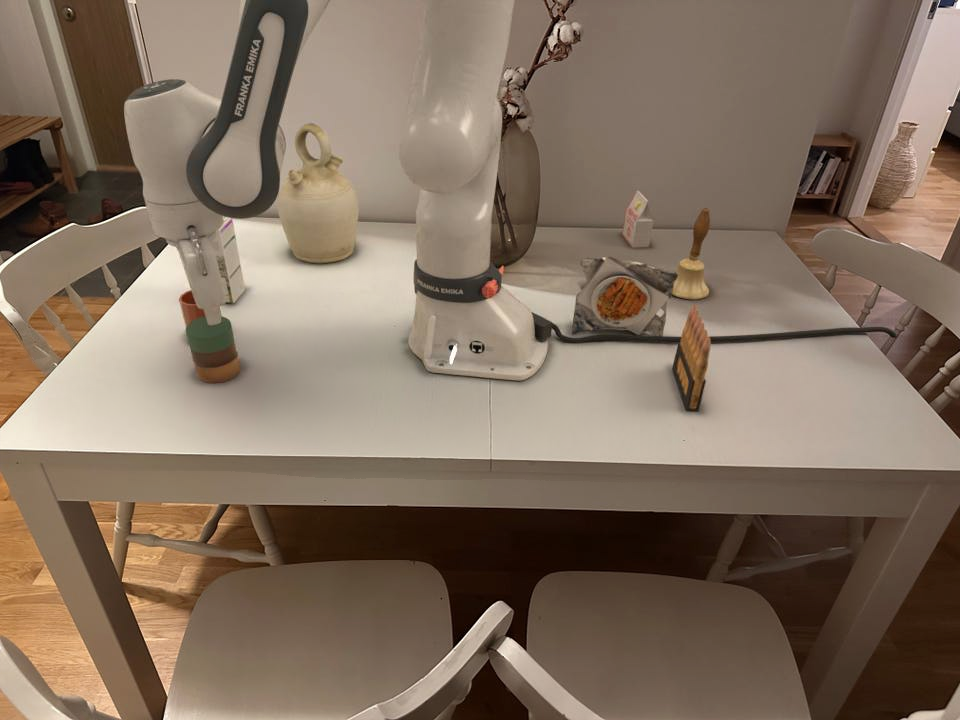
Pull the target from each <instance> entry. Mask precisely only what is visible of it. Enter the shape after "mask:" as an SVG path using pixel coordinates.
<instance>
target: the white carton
mask: <svg viewBox="0 0 960 720" xmlns="http://www.w3.org/2000/svg"><path fill="white" fill-rule="evenodd" d="M653 227H654V217H653V214H652V211H651V207H650V202H649V200H648V199H647V198H646V197H645V196H644V195H643V194H642V193H641V192H640V191H639V190H635V192H634V195H633V196H632V198H631V200H630V202H629V203H628V205H627V207H626V208H625V214H624V221H623V225H622V233H621V235H622V236H623V238H624V239H625V241H626V242H627V243H628V244H629V246H630V247H631V248H633V249H634V248H638V249H639V248H650V243H651V237H652V233H653V232H652V231H653Z"/></svg>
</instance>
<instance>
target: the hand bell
mask: <svg viewBox="0 0 960 720" xmlns="http://www.w3.org/2000/svg"><path fill="white" fill-rule="evenodd" d="M710 227H711V214H710V208H708V207H703V208H702V209H701V211H700V213H699V214H698V216H697V217H696V219H695V222H694V225H693V229H692V230H693V231H692V234H693V235H692V237H693V240H692V241H693V242H692V246H691V249H690V253H689V255H688V258H683V259H681V260H680V261H679V264H678V267H677V269H676V271H675V272H676V273H677V274H678V277H677V279H676V280H675V281H674V288H673V293H672V296H674V297H678V298H680V299H684V300H692V301H693V300H701V299H705V298H707V297H708V296H709V294H710V289H709V286H708V285H707V284H706V282H705V277H704V276H705V264H704V262H702V261H700V260H699V258H700V255H701V250H702V245H703V242H704V240H705V238H706V237H707V235H708V232H709V230H710Z"/></svg>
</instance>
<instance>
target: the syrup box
mask: <svg viewBox="0 0 960 720" xmlns="http://www.w3.org/2000/svg"><path fill="white" fill-rule="evenodd" d="M223 219H224V223H223V225H222V227H221V228H219V229H218V230H216V233H217V236H216V237H215V239H213V240H212V241H211V242H210V243H211V245H212V248H213V250H214V252H215V255H216V259H217V262H218V267H219V271H220V275H221V279H222V283H223V287H224V291H225V296H226V302H225V304H235V303H236V302H237V301H238V299H239V298H240V297H241V296H242V294H243V293H244V292H245V290H246V284H245V280H244V275H243V271H242V265H241V260H240V253H239V248H238V243H237V236H236V230H235V225H234V220H233V218H229V217H225V216H223Z"/></svg>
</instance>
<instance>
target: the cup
mask: <svg viewBox="0 0 960 720" xmlns="http://www.w3.org/2000/svg"><path fill="white" fill-rule="evenodd" d="M178 301H179V305H180V310H181V314H182V318H183V322H184V326H185V328H186V327H187V325H188V324H189V323H190V322H192V321H194V320H196V319H198V318H201V317H205V312H204V310H203V309H199V308H198V307H197V305H196V302H195V300H194V297H193V294H192V291H191V289H189V290H187V291H185V292H184V293H182V294H180V295H179V298H178ZM220 306H221V305H220ZM220 306H219V312H220V316H222V310H221V307H220ZM222 317H223V316H222Z"/></svg>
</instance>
